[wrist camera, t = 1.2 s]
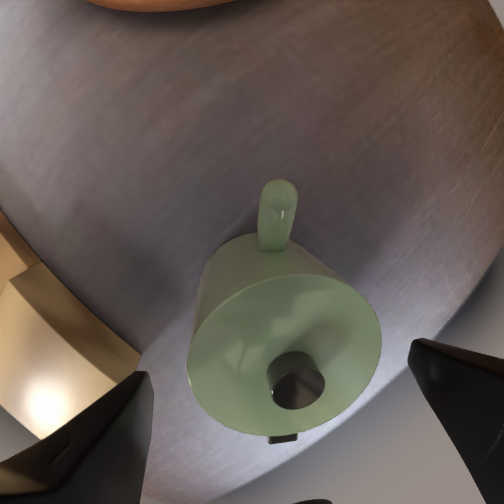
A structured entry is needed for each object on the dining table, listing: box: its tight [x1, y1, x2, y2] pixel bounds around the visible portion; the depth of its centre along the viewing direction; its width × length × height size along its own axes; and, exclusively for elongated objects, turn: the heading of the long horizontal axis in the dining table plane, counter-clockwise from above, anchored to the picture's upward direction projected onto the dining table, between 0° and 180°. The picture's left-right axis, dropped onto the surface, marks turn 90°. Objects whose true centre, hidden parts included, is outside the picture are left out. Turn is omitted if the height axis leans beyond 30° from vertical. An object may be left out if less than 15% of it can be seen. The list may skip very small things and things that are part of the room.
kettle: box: [187, 178, 382, 444], centre depth 11 cm, size 10×6×8 cm, turn 1°
